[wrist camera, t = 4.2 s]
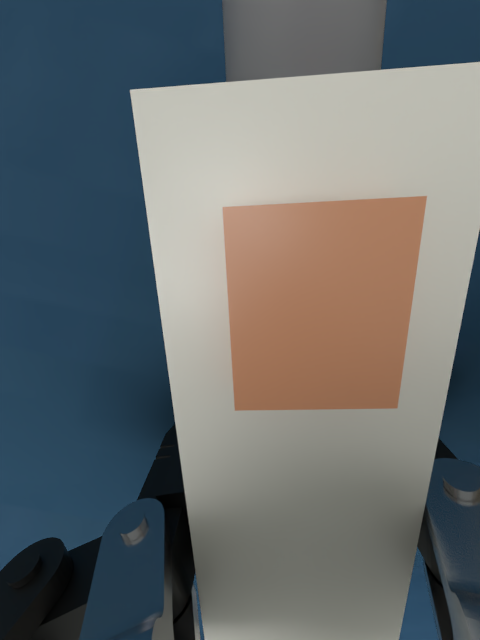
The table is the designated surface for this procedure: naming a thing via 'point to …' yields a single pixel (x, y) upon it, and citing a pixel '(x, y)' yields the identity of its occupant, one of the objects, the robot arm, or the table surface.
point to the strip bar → (309, 309)
